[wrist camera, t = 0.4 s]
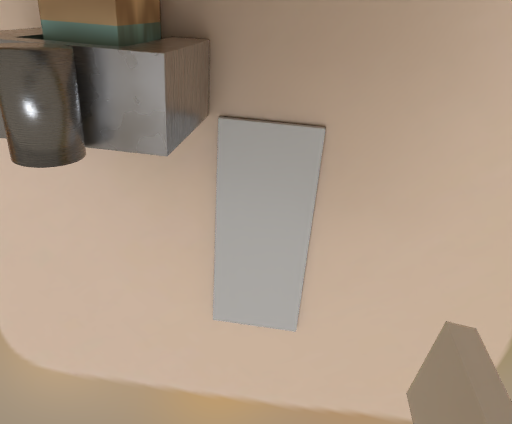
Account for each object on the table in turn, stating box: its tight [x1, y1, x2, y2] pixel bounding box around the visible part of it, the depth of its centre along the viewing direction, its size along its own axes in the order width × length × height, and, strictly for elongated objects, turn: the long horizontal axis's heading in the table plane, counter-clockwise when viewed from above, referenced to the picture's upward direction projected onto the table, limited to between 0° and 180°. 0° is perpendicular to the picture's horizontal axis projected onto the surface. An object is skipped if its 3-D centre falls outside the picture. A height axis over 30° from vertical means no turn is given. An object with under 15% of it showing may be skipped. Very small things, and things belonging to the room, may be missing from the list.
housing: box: [0, 28, 210, 168], centre depth 28 cm, size 6×13×15 cm, turn 86°
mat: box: [213, 116, 326, 332], centre depth 40 cm, size 22×9×1 cm, turn 176°
